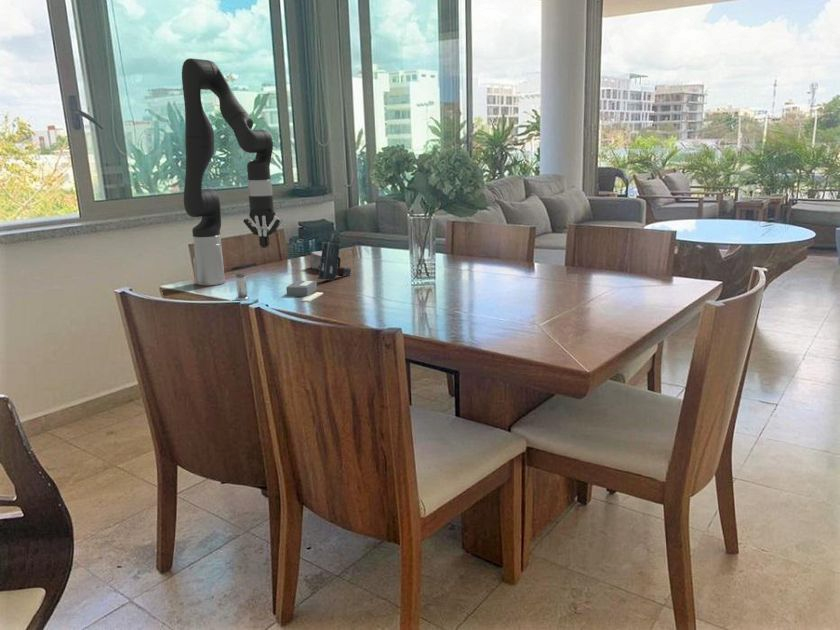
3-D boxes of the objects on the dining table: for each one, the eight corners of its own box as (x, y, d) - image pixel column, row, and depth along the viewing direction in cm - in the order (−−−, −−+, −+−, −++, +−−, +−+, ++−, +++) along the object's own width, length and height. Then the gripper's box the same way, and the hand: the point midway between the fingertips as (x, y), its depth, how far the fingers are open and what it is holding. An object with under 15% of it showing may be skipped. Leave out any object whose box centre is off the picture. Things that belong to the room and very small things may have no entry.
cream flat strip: (302, 301, 203) (302, 300, 203) (316, 293, 213) (316, 292, 213) (309, 301, 202) (309, 300, 202) (323, 293, 212) (323, 292, 212)
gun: (355, 237, 239) (328, 231, 227) (350, 282, 240) (322, 279, 228) (350, 237, 241) (322, 231, 228) (344, 281, 242) (317, 278, 229)
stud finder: (287, 296, 211) (286, 286, 210) (297, 289, 221) (296, 279, 220) (307, 297, 210) (307, 286, 209) (317, 290, 220) (316, 280, 219)
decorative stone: (323, 266, 263) (303, 268, 256) (322, 249, 261) (302, 251, 254) (346, 270, 253) (326, 273, 246) (346, 253, 251) (325, 255, 244)
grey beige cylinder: (234, 300, 207) (231, 275, 205) (240, 297, 210) (238, 273, 208) (245, 300, 206) (242, 275, 204) (251, 297, 209) (249, 273, 207)
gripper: (236, 195, 206) (241, 249, 210) (275, 194, 204) (280, 249, 208) (245, 193, 213) (250, 245, 218) (284, 193, 211) (288, 245, 216)
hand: (265, 247), depth 213 cm, fingers closed
